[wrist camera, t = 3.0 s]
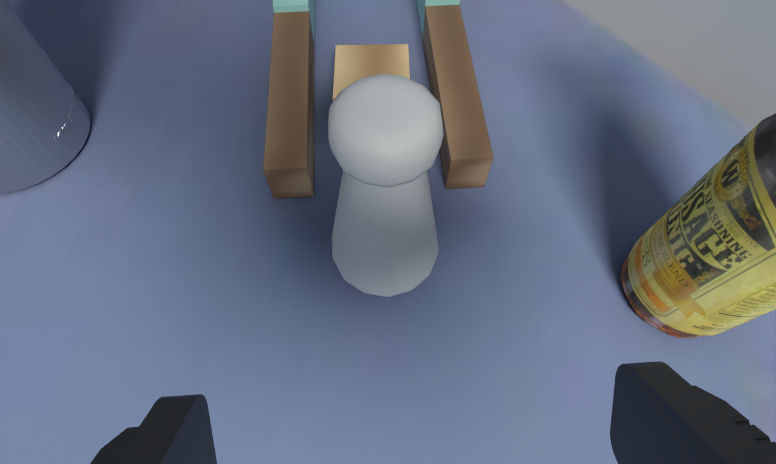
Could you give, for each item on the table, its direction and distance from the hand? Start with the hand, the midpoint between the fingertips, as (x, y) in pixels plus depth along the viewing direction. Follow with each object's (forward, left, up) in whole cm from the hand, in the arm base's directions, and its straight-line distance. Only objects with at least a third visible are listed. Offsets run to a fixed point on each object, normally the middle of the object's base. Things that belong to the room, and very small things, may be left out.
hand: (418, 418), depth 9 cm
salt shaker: (0, +11, -16) cm, 19 cm away
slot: (0, +23, -16) cm, 28 cm away
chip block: (0, +24, -16) cm, 29 cm away
